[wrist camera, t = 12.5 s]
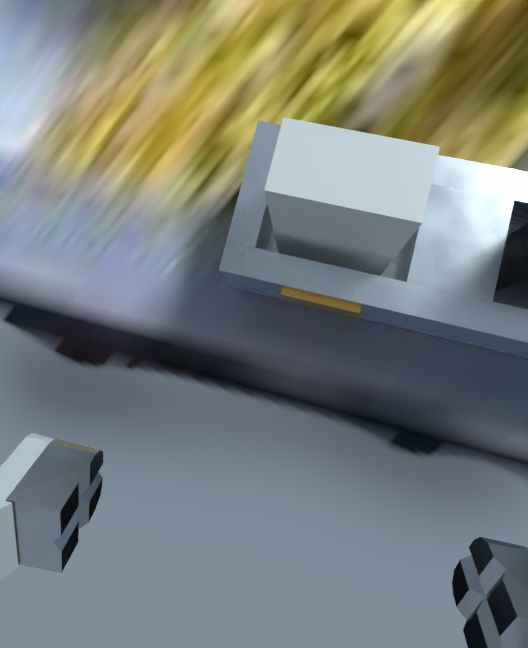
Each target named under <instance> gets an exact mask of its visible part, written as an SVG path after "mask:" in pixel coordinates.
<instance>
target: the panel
mask: <svg viewBox="0 0 528 648" xmlns="http://www.w3.org/2000/svg"><path fill="white" fill-rule="evenodd" d="M439 148H440V147H439V146H434V145H428V144H423V143H418V142H412V141H407V140H402V139H396V138H391V137H386V136H380V135H375V134H370V133H364V132H359V131H353V130H348V129H343V128H337V127H332V126H327V125H321V124H316V123H311V122H305V121H300V120H295V119H289V118H284V117H283V120H282V124H281V128H280V132H279V136H278V140H277V143H276V147H275V151H274V155H273V159H272V163H271V166H270V170H269V174H268V178H267V182H266V186H265V189H264V191H265V196H266V200H267V204H268V209H269V213H270V218H271V222H272V227H273V231H274V236H275V240H276V244H277V249H278V253H281V254H286V255H290V256H295V257H299V258H304V259H308V260H313V261H317V262H322V263H326V264H330V265H335V266H339V267H344V268H348V269H353V270H357V271H362V272H366V273H370V274H375V275H379V276H380V275H381V274H382V273H383V271H384V270H385V269H386V268H387V266H388V265H389V264H390V263H391V262H392V260H393V259H394V258H395V257H396V255H397V254H398V253H399V252H400V250H401V249H402V248H403V247H404V245H405V244H406V243H407V242H408V240H409V239H410V238H411V237H412V235H413V234H414V233H415V232H416V230H417V229H418V228H419V227H420V225H421V224H422V222H423V218H424V213H425V209H426V205H427V200H428V196H429V192H430V187H431V183H432V178H433V174H434V170H435V165H436V161H437V157H438V152H439Z"/></svg>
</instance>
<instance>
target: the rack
mask: <svg viewBox="0 0 528 648" xmlns="http://www.w3.org/2000/svg"><path fill="white" fill-rule="evenodd" d="M280 128H281V125H279V124H274V123H269V122H264V121H258V124H257V128H256V132H255V135H254V139H253V143H252V147H251V150H250V154H249V158H248V162H247V165H246V169H245V173H244V177H243V180H242V184H241V188H240V192H239V195H238V199H237V203H236V206H235V210H234V214H233V218H232V221H231V225H230V229H229V233H228V236H227V240H226V244H225V248H224V251H223V255H222V259H221V263H220V266H219V271H220V272H221V273H222V275H223V276H224V277H225V278H226V279H227V280H228V282H229V283H230V284H231V285H232V286H233V287H234V288H235V289H239V290H243V291H247V292H251V293H255V294H260V295H264V296H268V297H272V298H276V299H280V300H282V301H286V302H290V303H294V304H298V305H302V306H307V307H311V308H315V309H319V310H323V311H328V312H332V313H336V314H340V315H344V316H349V317H353V318H360V319H364V320H369V321H373V322H377V323H381V324H385V325H389V326H394V327H398V328H402V329H406V330H410V331H415V332H419V333H423V334H427V335H431V336H436V337H440V338H444V339H448V340H452V341H457V342H461V343H465V344H469V345H473V346H478V347H482V348H486V349H490V350H494V351H498V352H503V353H507V354H511V355H515V356H519V357H524V358H528V172H526V171H520V170H515V169H510V168H505V167H499V166H494V165H489V164H484V163H478V162H473V161H468V160H463V159H458V158H452V157H447V156H442V155H438V157H437V161H436V165H435V170H434V174H433V178H432V183H431V187H430V192H429V196H428V200H427V205H426V209H425V213H424V218H423V222H422V224H421V225H420V227H419V228H418V229H417V230H416V232H415V233H414V234H413V235H412V237H411V238H410V239H409V240H408V242H407V243H406V244H405V245H404V247H403V248H402V249H401V250H400V252H399V253H398V254H397V255H396V257H395V258H394V259H393V260H392V262H391V263H390V264H389V265H388V266H387V268H386V269H385V270H384V271H383V273H382V274H381V275H380V276H379V275H375V274H370V273H366V272H362V271H357V270H353V269H348V268H344V267H339V266H335V265H330V264H326V263H322V262H317V261H313V260H308V259H304V258H299V257H295V256H290V255H286V254H281V253H278V249H277V244H276V240H275V236H274V231H273V227H272V222H271V218H270V213H269V209H268V204H267V200H266V196H265V191H264V189H265V186H266V182H267V178H268V174H269V170H270V166H271V163H272V159H273V155H274V151H275V147H276V143H277V140H278V136H279V132H280Z"/></svg>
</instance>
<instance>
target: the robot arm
mask: <svg viewBox="0 0 528 648" xmlns="http://www.w3.org/2000/svg"><path fill="white" fill-rule="evenodd" d="M102 464H103V451H101V450H98V449H94V448H90V447H86V446H82V445H78V444H74V443H71V442H67V441H63V440H59V439H54V438H50V437H46V436H42V435H38V434H34V433H32V434H30V435H29V436H27V437H25V438H24V439H23V440H22V441H21V443H20V444H19V445H18V446H17V447H16V448H15V450H14V451H13V452H12V453H11V454H10V455H9V457H8V458H7V459H6V460H5V461H4V462H3V464H2V465H1V466H0V581H1V580H2V579H3V578H5V577H6V576H7V575H9V574H10V573H11V572H13V571H14V570H15V569H17V568H18V564H20V565H25V566H30V567H36V568H41V569H45V570H50V571H55V572H60V573H62V571H63V569H64V568H65V566H66V564H67V562H68V560H69V558H70V556H71V555H72V553H73V551H74V549H75V547H76V545H77V543H78V534H79V528H81V527H82V526H84V525H85V524H87V523H89V521H90V519H91V517H92V515H93V513H94V511H95V509H96V506H97V503H98V501H99V498H100V494H101V489H102V481H103V478H102V476H101V475H100V473H99V472H98V471H99V470H100V468H101V466H102ZM469 549H470V552H471V555H470V556H468V557H466V558H464V559H461V560H460V561H459V563H458V564H457V566H456V568H455V569H454V574H453V581H452V587H453V595H454V599H455V603H456V607H457V608H458V609H459V611H460V612H461V613H462V615H463V616H464V617H465V618H466V620H467V621H466V624H465V626H464V629H463V632H464V635H465V639H466V642H467V646H468V648H528V548H526V547H524V546H519V545H515V544H510V543H506V542H501V541H497V540H492V539H488V538H483V537H479V538H477V539H475V540H474V541H473V542H472V543H471V545H470V546H469Z"/></svg>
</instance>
